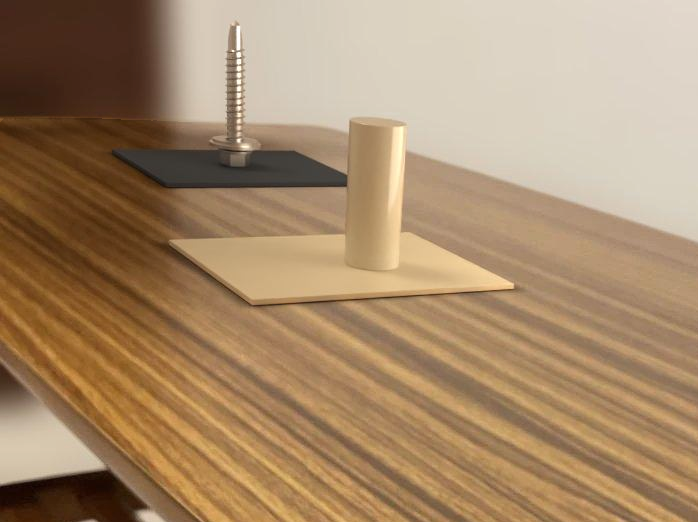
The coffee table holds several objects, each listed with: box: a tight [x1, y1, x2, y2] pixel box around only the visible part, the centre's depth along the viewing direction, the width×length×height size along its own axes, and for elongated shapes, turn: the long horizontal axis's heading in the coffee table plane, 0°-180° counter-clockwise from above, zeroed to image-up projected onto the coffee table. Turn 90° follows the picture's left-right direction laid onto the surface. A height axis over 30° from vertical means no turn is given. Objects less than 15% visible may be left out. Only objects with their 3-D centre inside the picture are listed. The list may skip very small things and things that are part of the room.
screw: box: [208, 20, 262, 167], centre depth 116 cm, size 13×5×5 cm
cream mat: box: [168, 231, 515, 306], centre depth 90 cm, size 20×16×1 cm
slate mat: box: [111, 148, 347, 188], centre depth 119 cm, size 19×16×1 cm
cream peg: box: [344, 116, 408, 271], centre depth 88 cm, size 4×4×10 cm
